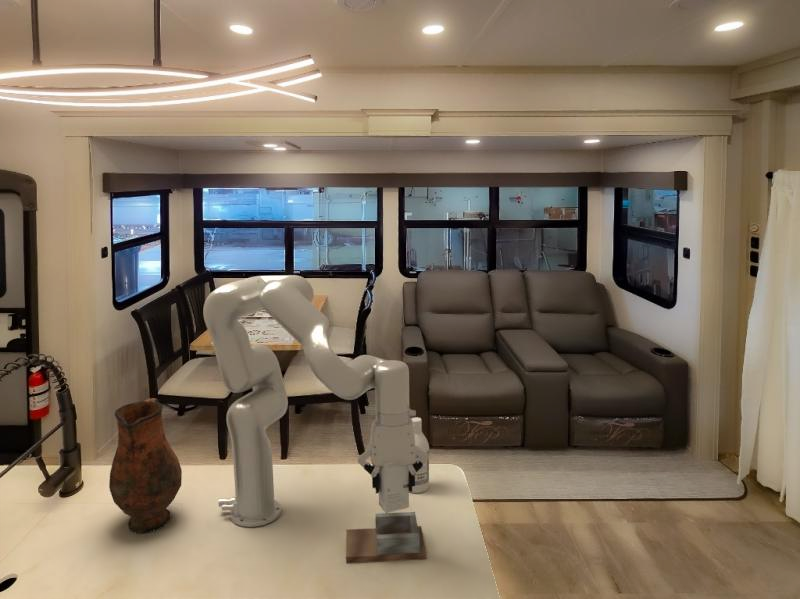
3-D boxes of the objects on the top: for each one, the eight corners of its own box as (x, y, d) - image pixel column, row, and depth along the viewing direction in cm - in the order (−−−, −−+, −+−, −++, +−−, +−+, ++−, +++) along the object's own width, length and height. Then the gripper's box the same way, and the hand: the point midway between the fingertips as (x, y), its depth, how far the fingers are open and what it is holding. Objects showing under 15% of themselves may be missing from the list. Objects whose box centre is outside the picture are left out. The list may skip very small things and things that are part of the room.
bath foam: (434, 488, 176) (434, 419, 171) (414, 496, 171) (414, 426, 167) (417, 479, 181) (417, 412, 177) (398, 486, 177) (398, 418, 172)
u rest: (346, 563, 143) (345, 540, 142) (346, 535, 154) (345, 514, 153) (426, 558, 144) (426, 536, 143) (421, 531, 155) (421, 510, 154)
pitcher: (102, 542, 151) (89, 423, 145) (133, 496, 172) (122, 390, 166) (174, 539, 152) (163, 421, 146) (196, 494, 173) (188, 389, 167)
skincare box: (385, 514, 144) (384, 464, 141) (377, 504, 148) (376, 456, 145) (410, 507, 146) (409, 458, 144) (401, 498, 150) (401, 450, 148)
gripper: (429, 408, 147) (429, 480, 150) (353, 411, 145) (355, 483, 149) (433, 421, 139) (433, 496, 143) (353, 424, 138) (355, 500, 142)
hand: (393, 489), depth 146 cm, fingers closed on skincare box, 7 cm apart
